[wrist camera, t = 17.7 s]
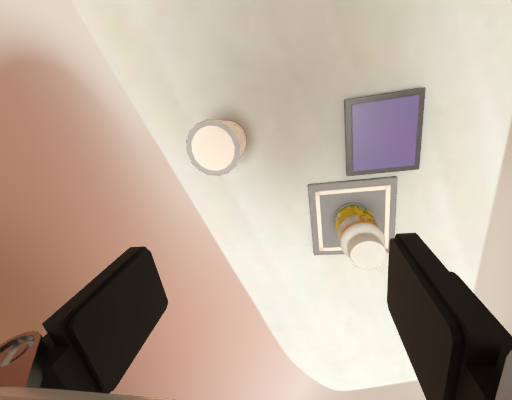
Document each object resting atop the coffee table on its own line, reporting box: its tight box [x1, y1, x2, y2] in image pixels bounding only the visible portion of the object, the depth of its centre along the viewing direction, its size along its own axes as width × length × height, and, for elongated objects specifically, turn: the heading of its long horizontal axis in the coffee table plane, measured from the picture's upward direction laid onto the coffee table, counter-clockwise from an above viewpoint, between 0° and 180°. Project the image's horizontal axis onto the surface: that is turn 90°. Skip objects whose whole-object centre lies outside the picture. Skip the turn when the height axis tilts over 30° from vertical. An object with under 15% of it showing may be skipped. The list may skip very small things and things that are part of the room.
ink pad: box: [345, 88, 425, 176], centre depth 33 cm, size 10×9×1 cm
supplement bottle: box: [334, 203, 387, 270], centre depth 33 cm, size 5×5×10 cm
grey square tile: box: [308, 176, 397, 255], centre depth 38 cm, size 12×12×1 cm
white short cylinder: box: [186, 120, 246, 176], centre depth 34 cm, size 7×7×7 cm
